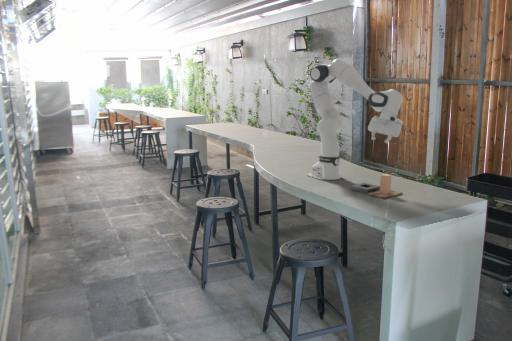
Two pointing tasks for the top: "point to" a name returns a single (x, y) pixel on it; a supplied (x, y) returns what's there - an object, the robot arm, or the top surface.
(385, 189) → the peg
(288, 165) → the top surface
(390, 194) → the board
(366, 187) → the socket
